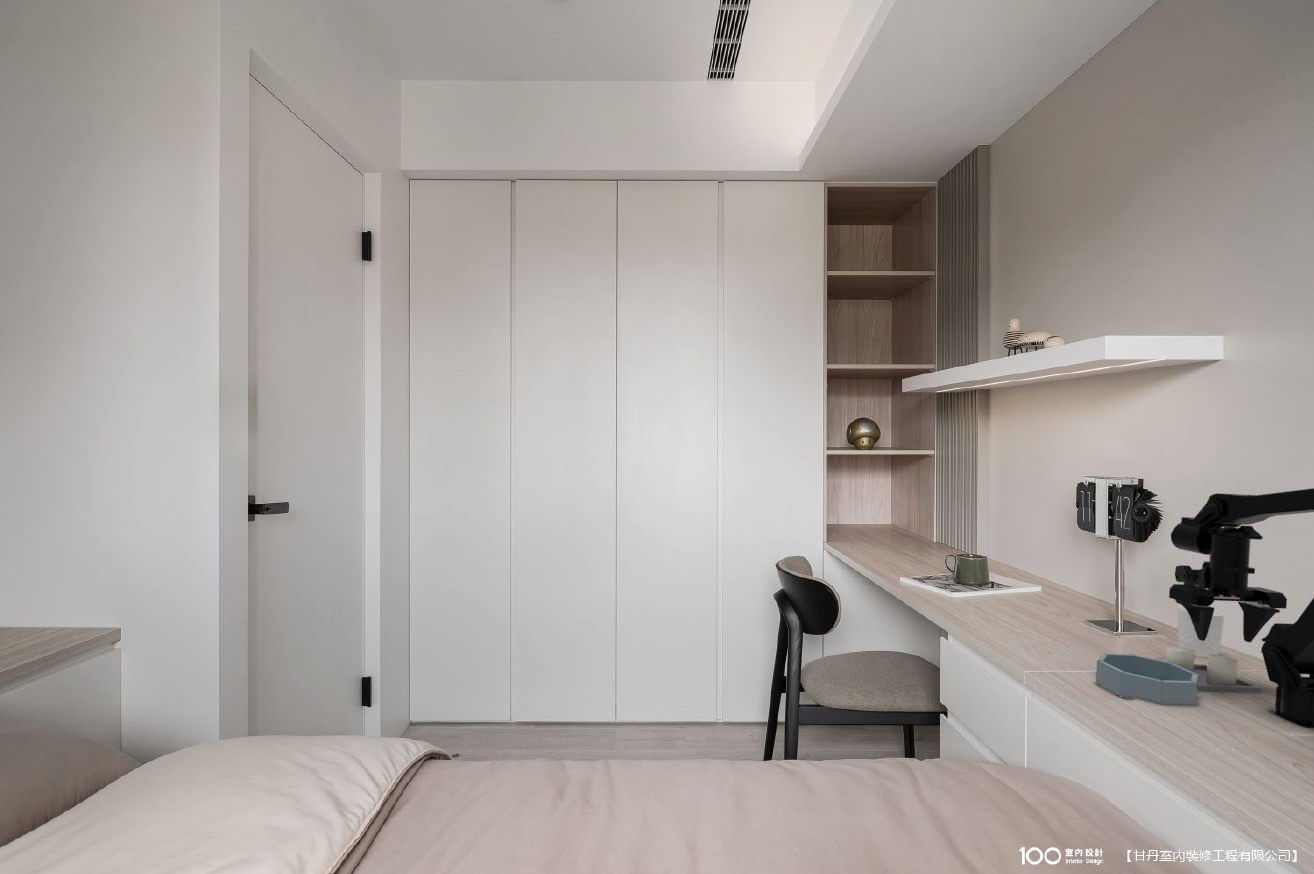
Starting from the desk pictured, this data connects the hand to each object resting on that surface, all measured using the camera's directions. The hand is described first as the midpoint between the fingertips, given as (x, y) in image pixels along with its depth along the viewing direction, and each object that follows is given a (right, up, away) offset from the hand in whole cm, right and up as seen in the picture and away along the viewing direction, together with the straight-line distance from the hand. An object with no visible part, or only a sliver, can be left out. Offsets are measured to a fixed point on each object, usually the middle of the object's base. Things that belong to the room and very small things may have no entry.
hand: (1224, 640), depth 127 cm
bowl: (-18, -8, -4) cm, 20 cm away
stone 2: (-5, -8, +5) cm, 11 cm away
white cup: (+11, -10, +20) cm, 25 cm away
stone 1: (0, -8, 0) cm, 8 cm away
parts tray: (-3, -9, +3) cm, 10 cm away
